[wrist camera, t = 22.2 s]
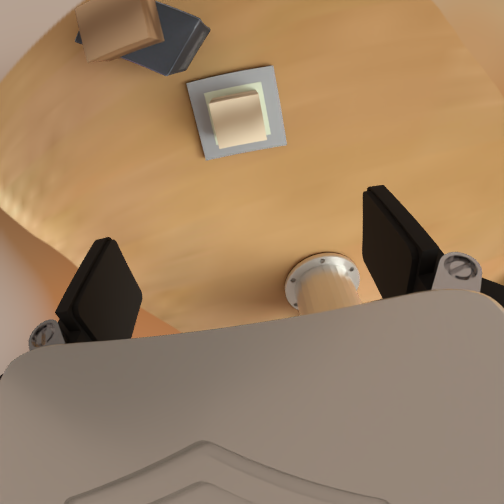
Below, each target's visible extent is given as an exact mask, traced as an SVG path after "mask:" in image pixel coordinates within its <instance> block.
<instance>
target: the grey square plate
mask: <svg viewBox="0 0 504 504" xmlns="http://www.w3.org/2000/svg"><path fill="white" fill-rule="evenodd" d="M186 84H187V88H188V92H189V96H190V100H191V104H192V108H193V112H194V116H195V120H196V123H197V127H198V131H199V135H200V139H201V143H202V147H203V151H204V154H205V158H206V160H211V159H215V158H220V157H225V156H229V155H234V154H239V153H244V152H250V151H255V150H260V149H266V148H272V147H278V146H284V145H287V142H286V136H285V130H284V124H283V118H282V112H281V106H280V100H279V95H278V89H277V84H276V78H275V73H274V68H273V66H266V67H260V68H254V69H248V70H243V71H237V72H232V73H227V74H223V75H218V76H214V77H209V78H205V79H201V80H197V81H193V82H189V83H186ZM251 90H256V91H257V92H258V94H259V99H260V104H261V110H262V115H263V120H264V126H265V131H266V137H267V140H264V141H258V142H253V143H247V144H242V145H237V146H232V147H227V148H222V149H219V145H218V141H217V137H216V133H215V128H214V124H213V120H212V116H211V111H210V107H209V103H210V101H211V100H212V98H215V97H220V96H225V95H230V94H235V93H240V92H245V91H251Z"/></svg>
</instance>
